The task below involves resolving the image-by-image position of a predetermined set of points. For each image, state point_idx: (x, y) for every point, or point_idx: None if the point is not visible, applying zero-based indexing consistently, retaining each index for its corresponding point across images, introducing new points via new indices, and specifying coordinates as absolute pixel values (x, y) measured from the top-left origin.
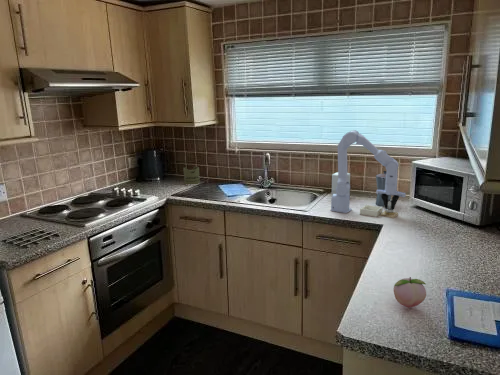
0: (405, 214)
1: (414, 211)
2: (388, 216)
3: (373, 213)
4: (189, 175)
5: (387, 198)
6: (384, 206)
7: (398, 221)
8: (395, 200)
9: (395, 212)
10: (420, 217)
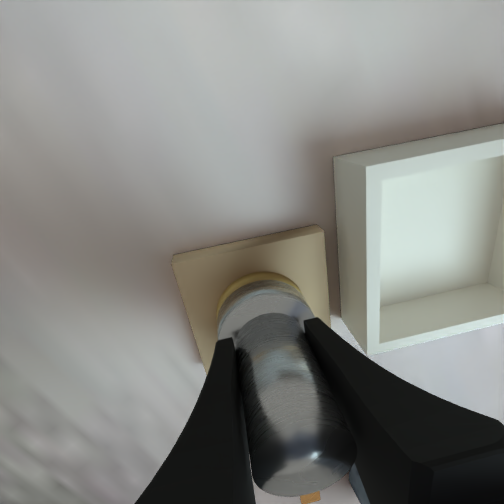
0: (161, 401)
1: None
2: (233, 245)
3: (390, 154)
4: None
5: (370, 479)
6: None
7: (61, 181)
8: (160, 477)
9: None
10: (18, 420)
